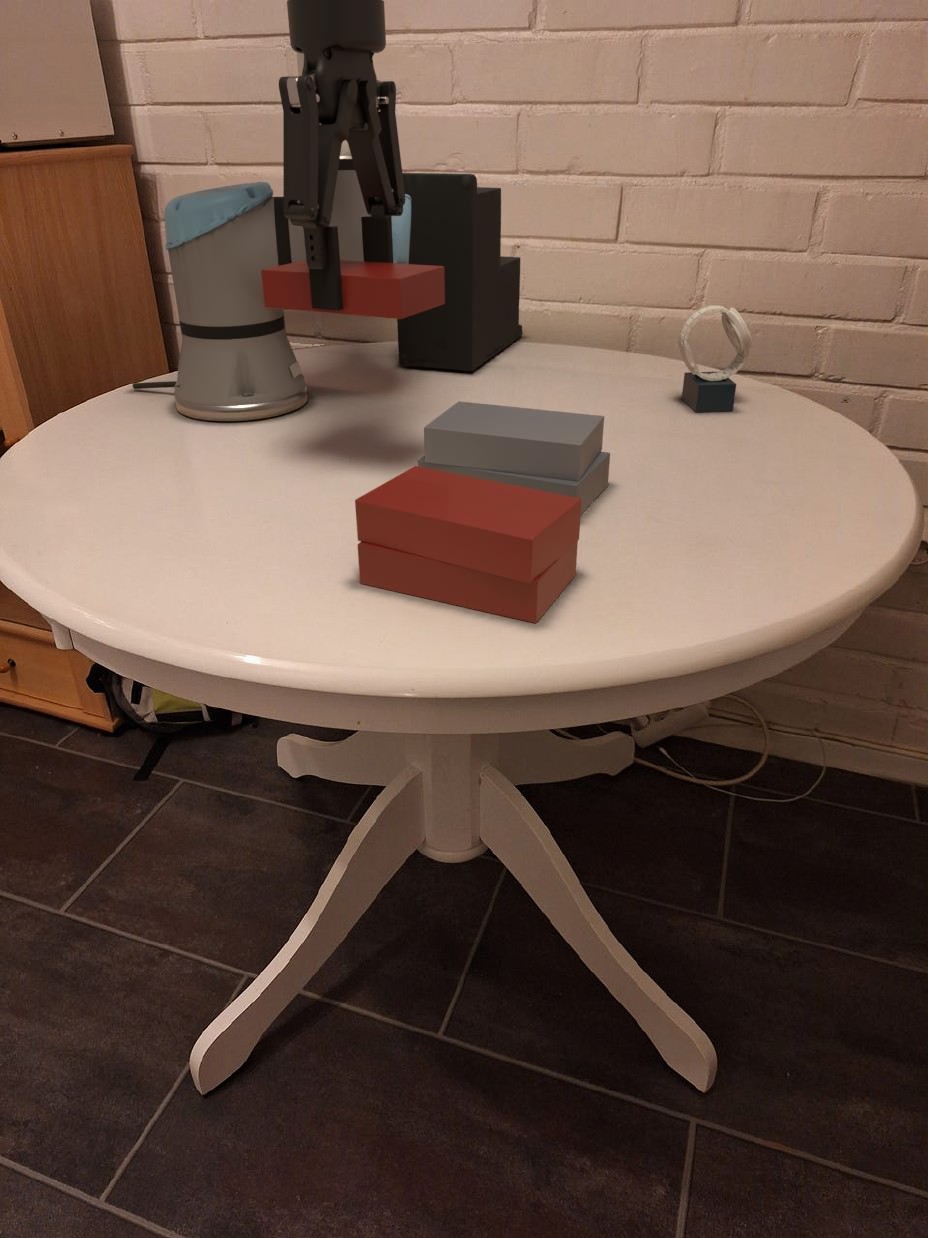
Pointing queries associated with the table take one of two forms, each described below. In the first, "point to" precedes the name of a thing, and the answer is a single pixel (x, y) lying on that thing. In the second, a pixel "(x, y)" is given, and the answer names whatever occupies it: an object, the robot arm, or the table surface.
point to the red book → (360, 288)
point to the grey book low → (543, 479)
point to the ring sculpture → (714, 386)
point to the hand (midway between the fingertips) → (355, 300)
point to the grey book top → (515, 440)
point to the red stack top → (470, 522)
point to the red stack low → (465, 582)
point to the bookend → (460, 274)
